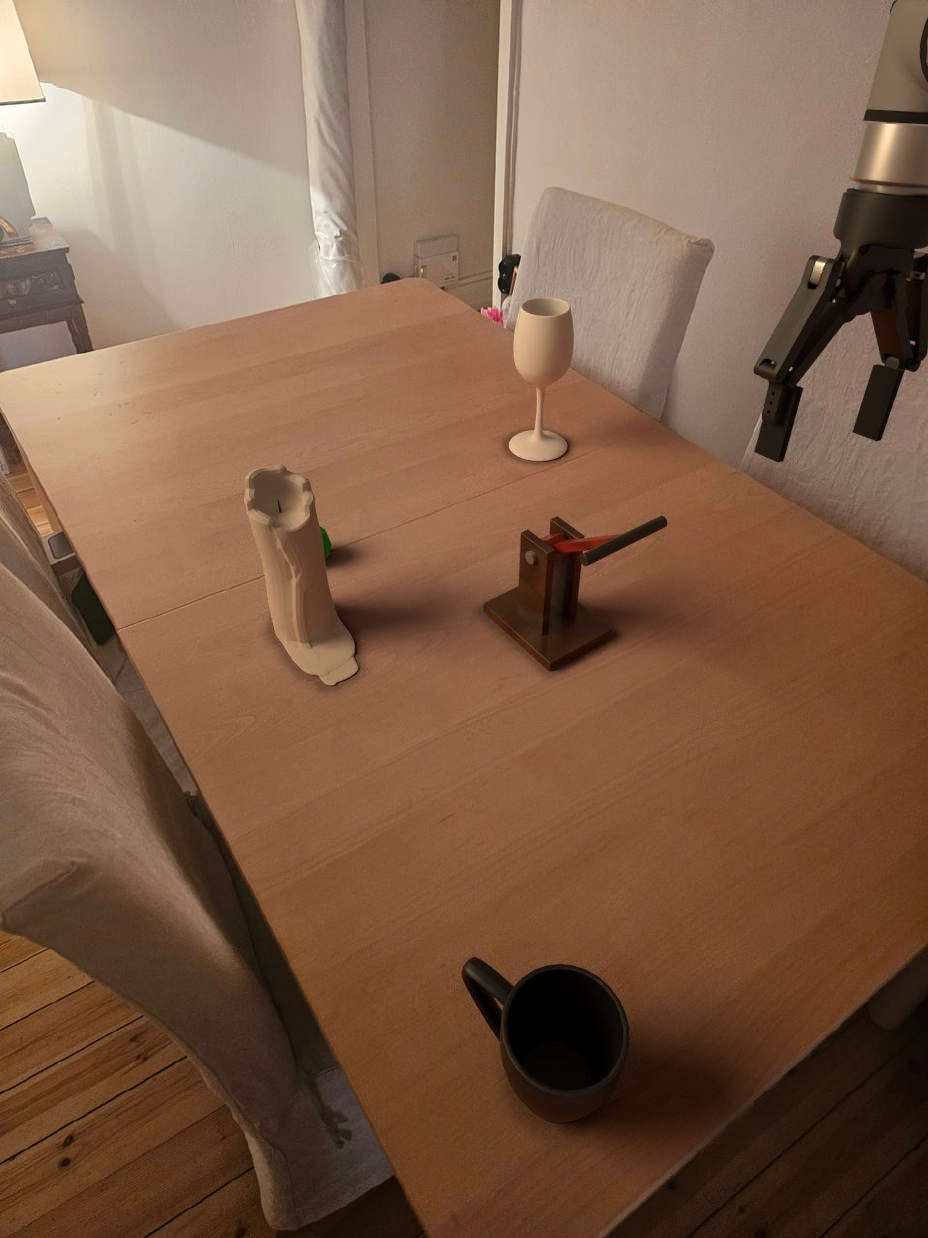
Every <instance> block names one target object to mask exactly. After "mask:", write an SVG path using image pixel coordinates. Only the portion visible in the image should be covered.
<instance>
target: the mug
mask: <svg viewBox="0 0 928 1238" xmlns="http://www.w3.org/2000/svg"><path fill="white" fill-rule="evenodd" d="M461 978H462V981H463V983H464V986H465V988H466V989H467V992H468V994H469V995H470V997H471V999H472V1000H473V1002H474V1004H475V1006H476V1008H477V1009H478V1011H479V1012H480V1015H481V1016H482V1017H483V1019H484V1020H485V1022H486V1024H487V1025H488V1027H489V1028H490V1030H491V1031H492V1033H493V1034H494V1036H495V1038H496V1039H497V1040H498V1041H499V1049H500V1056H501V1063H502V1067H503V1070H504V1072H505V1075H506V1078H507V1081H508V1083H509V1085H510V1086H511V1089H512V1090H513V1092H514V1093H515V1095H516V1097H517V1098H518V1099H519V1101H521V1103H522V1104H523V1105H524V1106H525V1107H526V1108H527V1109H528V1110H529V1111H531V1112H532V1113H533V1114H534V1115H535V1116H537V1117H538V1118H540V1119H541V1120H544V1121H546V1122H549V1123H554V1124H555V1123H556V1124H562V1123H569V1122H574V1121H577V1120H579V1119H582V1118H584V1117H587V1116H589V1115H590V1114H591V1113H593V1112H594V1111H595V1110H597V1109H598V1108H600V1107H601V1106H602V1105H603V1104H604V1103H605V1102H606V1100H607V1099H608V1098H609V1097H610V1095H611V1094H612V1093H613V1091H614V1090H615V1089H616V1087H617V1085H618V1082H619V1080H620V1079H621V1076H622V1073H623V1071H624V1067H625V1065H626V1061H627V1058H628V1055H629V1048H630V1043H631V1040H630V1037H631V1036H630V1025H629V1021H628V1017H627V1013H626V1011H625V1008H624V1005H623V1004H622V1002H621V1000H620V998H619V997H618V995H617V994H616V993H615V992H614V990H613V989H612V987H611V986H610V985H609V984H608V983H607V982H605V981H604V980H603V979H602V978H601V977H600V976H598V975H597V974H594V973H593V972H592V971H589V970H588V969H586V968H582V967H580V966H576V965H573V964H565V963H555V964H547V965H544V966H541V967H537V968H534V969H533V970H531V971H530V972H528V973H527V974H525V975H523V976H522V977H521V978H520V979H519V980H518V981H517V982H516V983H515V984H512V983H511V982H510V981H508V979H506V978H505V977H504V976H503V975H502V974H501V973H500V972H498V971H497V970H496V969H495V968H494V967H492V966H491V965H490V964H488V963H487V962H486V961H484V960H483V959H481V958H479V957H477V956H473V957H470V958H469V959H467V961H466V962H465V963H464V964H463V966H462V969H461ZM497 1001H498V1002H499V1003H500V1005H502V1008H501V1006H500V1005H499V1004H498V1002H497Z"/></svg>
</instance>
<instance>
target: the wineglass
mask: <svg viewBox="0 0 928 1238" xmlns="http://www.w3.org/2000/svg"><path fill="white" fill-rule="evenodd" d="M573 321H574V320H573V313H572V307H571V305H570V304H569V302H567V301H565V300H563V299H560V298H557V297H549V296H539V297H533V298H529V299H527V300H525V301H523V302H522V303H521V305H520V306H519V310H518V314H517V318H516V322H515V327H514V334H513V346H512V347H513V361H514V365H515V369H516V370H517V372H518V374H519V375H520V376H521V377H522V378H523V379H524V380H525V381H526V382H528V383H529V384H530V385H532V386H534V387H535V389H536V417H535V423H534V424H535V425H534V429H530V430H524V431H521V432H519V433H517V434H515V435H514V436H512V438H511V439H510V440H509V442H508V448H509V450H510V452H511V453H512V454H513V455H514V456H516V457H519V458H520V459H523V460H526V461H531V462H547V461H552V460H555V459H558V458H560V457H561V456H563V455H564V454H565V453H566V451H568V443H567V441H566V440H565V438H564V437H563V436H561V435H560V434H558V433H555V432H553V431H550V430H546V429H545V430H544V406H545V405H544V402H545V396H546V390H547V388H548V387H549V386H551V385H553V384H555V383H557V382H558V381H560V380H561V379H562V378H563V377H564V376H565V375H566V373H567V372H568V371H569V368H570V366H571V364H572V360H573V353H574V345H575V343H574V342H575V334H574V333H575V331H574V322H573Z"/></svg>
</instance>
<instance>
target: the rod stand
mask: <svg viewBox="0 0 928 1238" xmlns="http://www.w3.org/2000/svg"><path fill="white" fill-rule="evenodd" d="M548 533H549V534H557V533H564V536H565V539H566V540H573V539H581V538H586V537H585V535H584V534H583V533H582V532H580V531H579V530H578V529H576V528H574V526H572V525H571V524H569V523H568V522H567V521H565V520H564V519H562V518H561V517H559V515H558V516H554V517H552V518H550V520H549V532H548ZM549 534H548V535H549ZM540 538H541V537H539V536H538V535H537V534H535V533H534V532H532V531H531V530H530V529H528V528H527V529H525V530H523V531H521V532H520V542H519V543H520V544H519V566H518V585H517V586H516V587H513V588H512V589H510V590H508V591H506V592H504V593H502V594H499V595H498V596H496V597H494V598H491V599H490V600H488V601H485V602H483V606H482V611H483V613H484V614H485V615H487V616H488V617H489V618H490V619H491V620H492V621H493V622H494V623H495V624H496V625H498V627H500V628H501V629H502V630H503V631H504V632H505V633H507V635H508V636H509V637H511V638H512V639H513V640H514V641H515V642H516V643H517V644H518V645H519V646H521V647H522V648H523V649H524V650H525V651H526V652H527V653H528V654H529V655H531V656H532V657H533V659H535V660H536V661H537V662H538V663H539V664H540V665H541V666H543V668H545V669H546V670H547V671H548V672H551V671H553V670H555V669H557V668H559V667H560V666H562V665H564V664H566V663H568V662H569V661H572V660H573V659H574V658H576V657H578V656H581V655H582V654H583V653H586V652H587V651H589V650H591V649H593V648H594V647H596V646H598V645H600V644H602V643H603V642H605V641H607V640H609V639H611V638H612V632H613V629H612V627H610V626H609V625H608V624H606V622H604V621H603V620H602V619H600V618H599V617H598V616H596V615H595V614H594V613H593V612H591V611H590V610H589V609H588V608H587V607H585V606H584V605H583V604H581V603H580V602H579V601H578V600H579V593H580V583H581V573H582V566H583V564H582V563H581V561H580V555H581V554H583V553H584V551H577V552H570V554H569V555H567V556H565V557H563V558H561V559H559V560H557V561H554V557H555V549H553V548H552V547H551V546H549V545H548V544H547V543H545V542H544V541H543V540H541V539H540Z"/></svg>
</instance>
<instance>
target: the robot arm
mask: <svg viewBox="0 0 928 1238" xmlns="http://www.w3.org/2000/svg"><path fill="white" fill-rule="evenodd" d="M862 121H863V122H862V125H861V129H860V132H859V136H858V139H857V143H856V147H855V150H854V153H853V156H852V157H853V158H852V161H851V165H850V168H849V171H848V176H847V177H848V178H849V180H850V181H853V182H854V184H853V187H849V188H847V189H846V191H845V192H843V193H842V195H841V200H840V203H839V206H838V207H839V208H838V211H837V214H836V218H835V222H834V226H833V229H832V234H833V236H834V238H835V239H837V240H839V242H840V247H839V250H838V252H837V255H836V257H835V258H831V257H827V256H821V255H817V254H812V255H811V256H810V257H808V259H807V261H806V264H805V267H804V270H803V274H802V277H801V279H800V283H799V285H798V286H797V288H796V290H795V293H794V294H793V296H792V297H791V299H790V301H789V303H788V305H787V307H786V308H785V311H783V314H782V316H781V318H780V319H779V321H778V323H777V325H776V327H775V328H774V330H773V332H772V333H771V336H770V337H769V338H768V341H767V342H766V344H765V345H764V348H763V350H762V352H761V353H760V355H759V357H758V358H757V360H756V362H755V364H754V366H753V369H752V370H753V375H756V376H758V377H760V378H761V379H764V380H766V381H767V382H768V387H767V390H766V395H765V398H764V402H763V406H762V411H761V420H762V421H761V424H760V428H759V431H758V436H757V440H756V443H755V448H754V453H755V454H757V455H760V456H762V457H764V458H767V459H768V460H771V461H773V462H776V463H782V462H784V461H785V457H786V454H787V451H788V448H789V447H788V446H789V443H790V439H791V435H792V432H793V428H794V425H795V421H796V417H797V414H798V411H799V406H800V403H801V399H802V396H803V392H804V388H805V387H802V386H800V385H798V384H799V383H800V381H801V380H802V379H803V377H804V376H805V375H806V373H807V372H808V371H809V370H810V369H811V367H812V366H813V364H814V363H815V362H816V360H817V359H818V358H819V357H820V355H821V354H822V353H823V351H824V350H825V349H826V348H827V347H828V345H829V344H830V343H831V341H832V340H833V339H834V337H835V336H836V335H837V334H838V332H839V331H840V330H841V328H842V327H843V326H844V325H845V324H847V323H851V322H852V321H854V320H855V318H856V317H857V316H865V315H866V314H868V313H870V316H871V321H872V326H873V330H874V335H875V340H876V344H877V347H878V352H879V356H880V361H881V363H882V364H879V363H878V364H873V365H872V368H871V371H870V374H869V378H868V381H867V384H866V387H865V390H864V394H863V396H862V400H861V403H860V406H859V409H858V413H857V416H856V419H855V422H854V426H853V429H852V433H853V434H856V435H858V436H861V437H864V438H866V439H869V440H871V441H874V442H880V441H882V440H883V439H882V438H883V437H884V433H885V430H886V427H887V424H888V422H889V418H890V416H891V412H892V409H893V407H894V405H895V400H896V398H897V395H898V392H899V389H900V386H901V383H902V380H903V378H904V374H905V372H906V371H907V372H911V373H916V372H918V370H919V369H920V367H921V364H922V361H924V360H925V359H926V358H927V355H928V252H923V251H917V250H920V249H924V248H927V247H928V0H891V2H890V6H889V18H888V21H887V24H886V29H885V33H884V37H883V39H882V45H881V49H880V53H879V56H878V61H877V64H876V68H875V72H874V77H873V80H872V84H871V89H870V92H869V95H868V99H867V103H866V108H865V112H864V115H863V119H862ZM911 342H914V344H913V343H911ZM883 364H884V365H883Z"/></svg>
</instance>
